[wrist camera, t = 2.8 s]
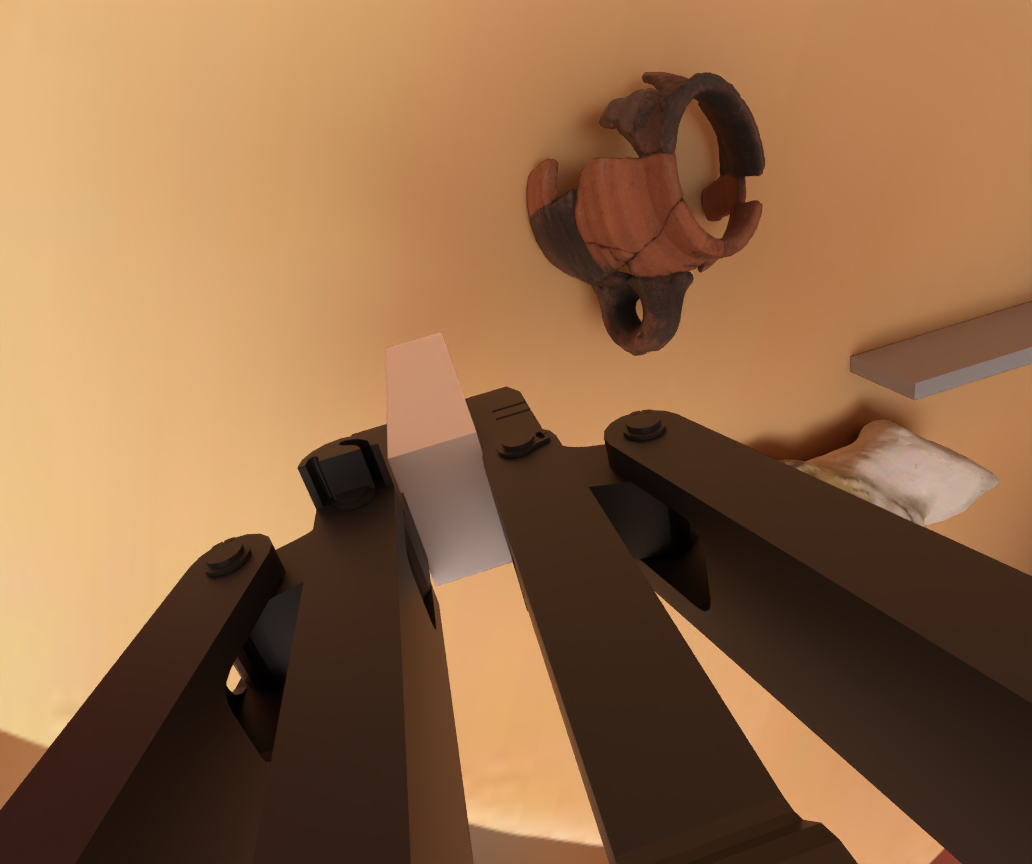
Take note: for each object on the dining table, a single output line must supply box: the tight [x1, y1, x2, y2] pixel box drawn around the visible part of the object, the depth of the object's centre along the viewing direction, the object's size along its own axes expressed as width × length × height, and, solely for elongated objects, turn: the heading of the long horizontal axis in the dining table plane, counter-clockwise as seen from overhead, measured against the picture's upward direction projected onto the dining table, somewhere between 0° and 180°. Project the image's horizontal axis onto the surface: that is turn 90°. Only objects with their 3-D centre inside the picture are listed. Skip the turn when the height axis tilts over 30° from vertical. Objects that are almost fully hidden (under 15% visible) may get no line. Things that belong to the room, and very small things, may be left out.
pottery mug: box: [527, 72, 765, 356], centre depth 29 cm, size 12×10×8 cm
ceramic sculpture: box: [778, 419, 999, 527], centre depth 37 cm, size 11×9×15 cm
